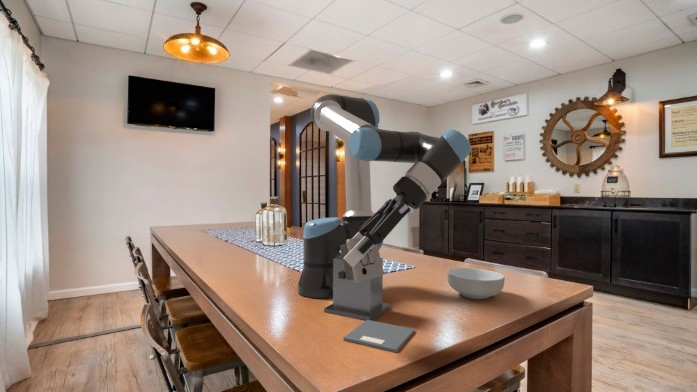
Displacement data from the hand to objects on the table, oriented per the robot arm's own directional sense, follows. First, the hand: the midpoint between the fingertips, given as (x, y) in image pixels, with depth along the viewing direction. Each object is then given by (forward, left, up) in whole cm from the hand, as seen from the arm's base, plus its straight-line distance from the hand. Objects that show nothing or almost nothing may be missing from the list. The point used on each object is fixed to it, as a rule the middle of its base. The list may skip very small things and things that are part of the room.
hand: (345, 259), depth 77 cm
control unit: (-5, +17, -17) cm, 25 cm away
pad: (+7, +4, -17) cm, 19 cm away
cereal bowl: (+21, +47, -17) cm, 54 cm away
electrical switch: (+3, +2, -4) cm, 6 cm away
